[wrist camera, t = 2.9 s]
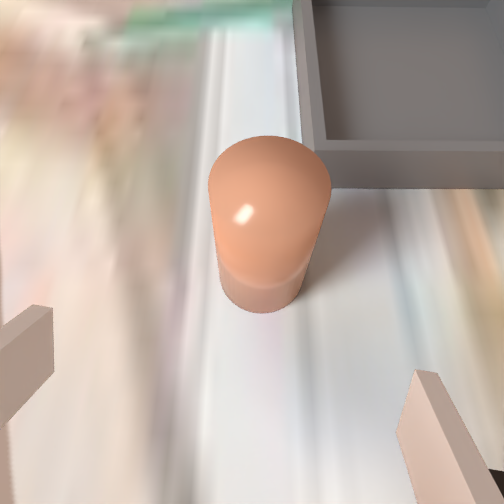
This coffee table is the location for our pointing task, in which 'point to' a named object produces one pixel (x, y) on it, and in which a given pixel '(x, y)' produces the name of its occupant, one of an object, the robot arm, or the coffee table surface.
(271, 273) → the orange rounded cylinder
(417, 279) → the coffee table surface
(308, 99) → the bin
